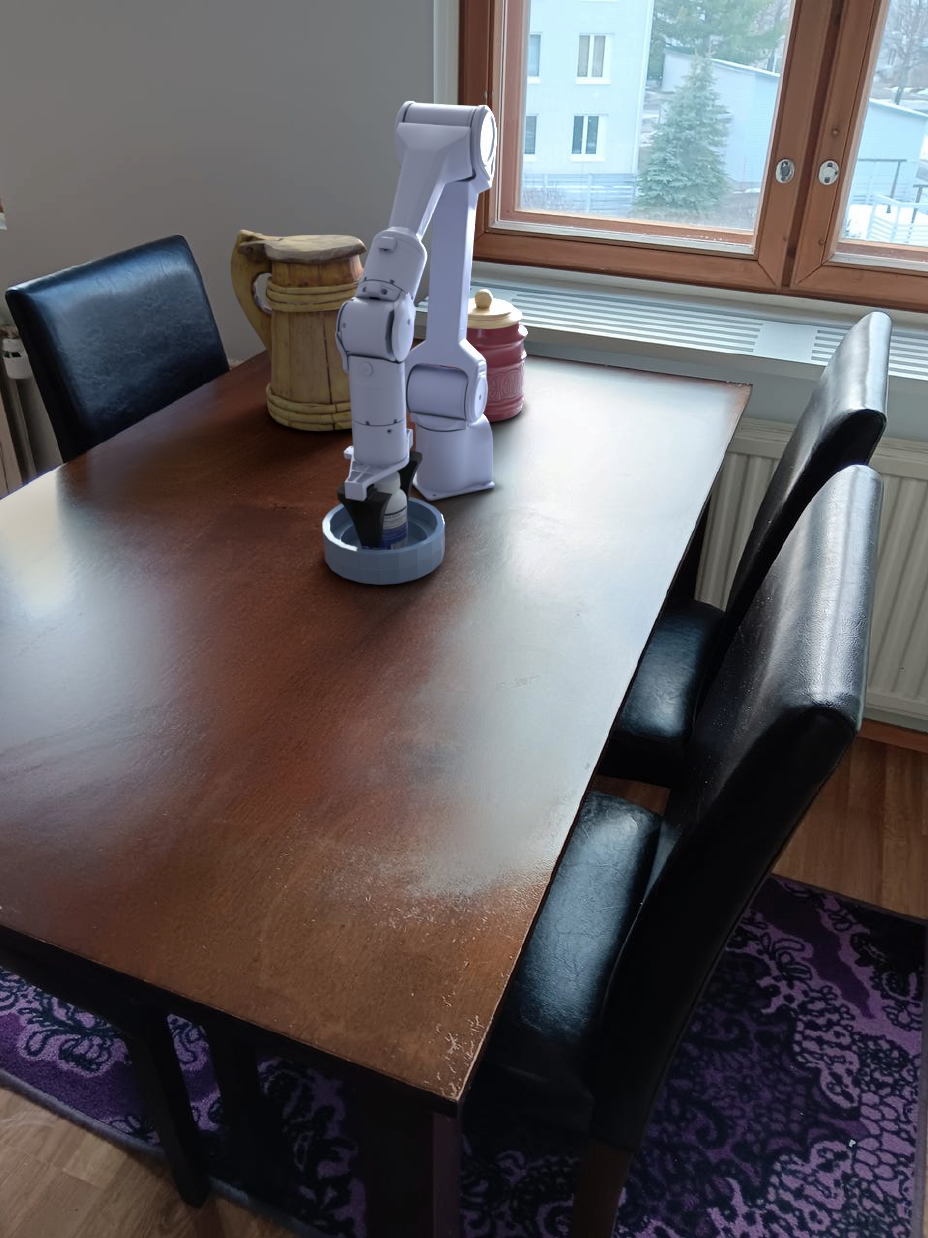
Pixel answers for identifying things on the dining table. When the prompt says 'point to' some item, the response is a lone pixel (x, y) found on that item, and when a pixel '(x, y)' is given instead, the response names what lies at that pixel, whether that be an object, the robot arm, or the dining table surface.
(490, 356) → the kitchen canister
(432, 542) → the bowl
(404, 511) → the pill bottle
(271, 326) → the tankard
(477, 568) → the dining table surface
